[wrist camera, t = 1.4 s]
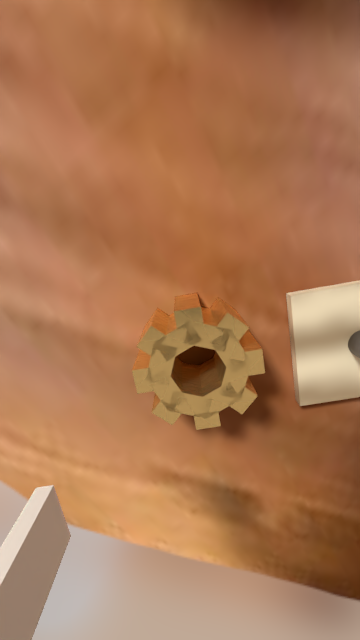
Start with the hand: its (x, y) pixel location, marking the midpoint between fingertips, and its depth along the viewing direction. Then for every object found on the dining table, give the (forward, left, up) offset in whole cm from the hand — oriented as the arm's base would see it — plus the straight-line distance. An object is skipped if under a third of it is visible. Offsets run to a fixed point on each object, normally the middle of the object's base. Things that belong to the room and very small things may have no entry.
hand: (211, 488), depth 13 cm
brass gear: (0, 0, -17) cm, 17 cm away
